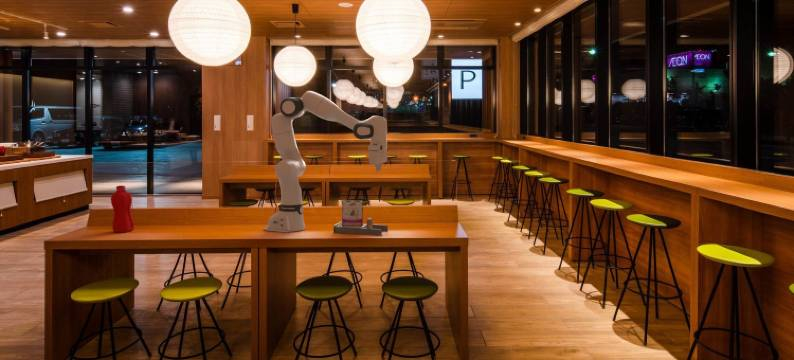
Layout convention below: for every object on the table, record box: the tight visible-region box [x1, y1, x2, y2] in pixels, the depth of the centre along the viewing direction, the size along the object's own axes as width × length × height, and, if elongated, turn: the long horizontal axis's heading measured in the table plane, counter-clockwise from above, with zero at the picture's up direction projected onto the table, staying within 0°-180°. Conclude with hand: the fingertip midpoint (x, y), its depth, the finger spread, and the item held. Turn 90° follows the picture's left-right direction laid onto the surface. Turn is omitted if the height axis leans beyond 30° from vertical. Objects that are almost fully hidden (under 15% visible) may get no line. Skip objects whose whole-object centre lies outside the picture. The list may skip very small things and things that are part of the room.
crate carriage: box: [336, 217, 373, 229], centre depth 284 cm, size 18×9×7 cm, turn 74°
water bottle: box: [110, 185, 135, 233], centre depth 286 cm, size 9×11×25 cm
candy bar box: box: [341, 200, 364, 227], centre depth 285 cm, size 11×5×16 cm, turn 99°
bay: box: [333, 220, 389, 236], centre depth 284 cm, size 27×12×4 cm, turn 74°
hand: (378, 171), depth 285 cm, fingers closed
